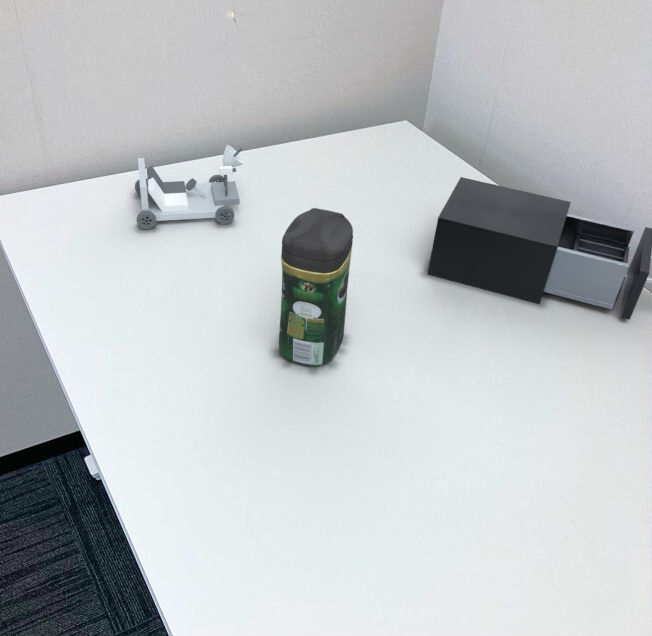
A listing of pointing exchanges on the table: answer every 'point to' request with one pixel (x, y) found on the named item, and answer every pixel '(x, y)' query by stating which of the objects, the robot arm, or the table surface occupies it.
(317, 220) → the coffee jar
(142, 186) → the toy car
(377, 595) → the table surface
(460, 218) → the box
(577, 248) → the rack
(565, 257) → the grey drawer
